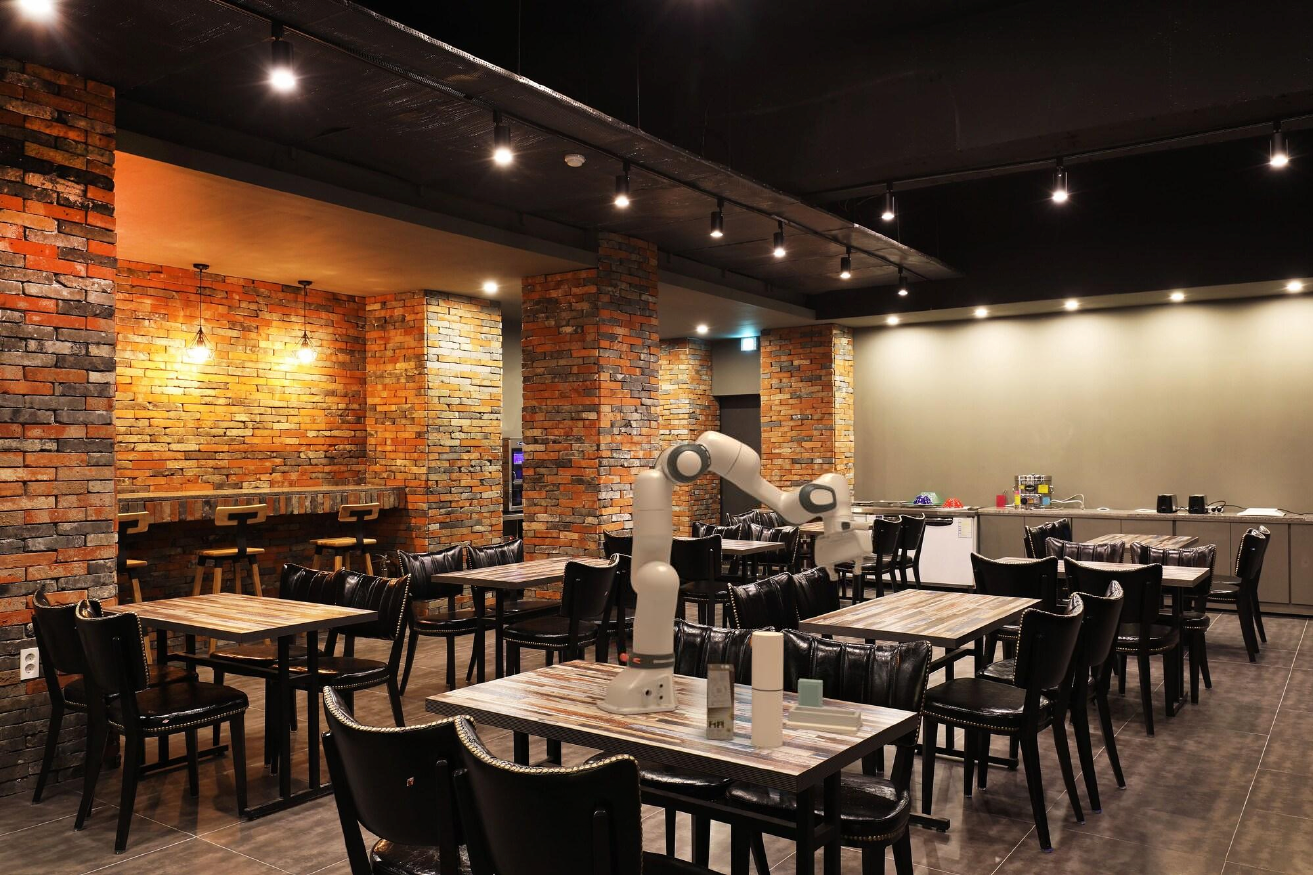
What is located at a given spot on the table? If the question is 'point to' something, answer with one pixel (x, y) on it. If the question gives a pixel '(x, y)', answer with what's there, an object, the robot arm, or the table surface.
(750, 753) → the table surface
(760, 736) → the cylindrical container
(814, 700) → the door
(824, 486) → the robot arm
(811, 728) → the track
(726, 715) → the coffee box
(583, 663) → the table surface
